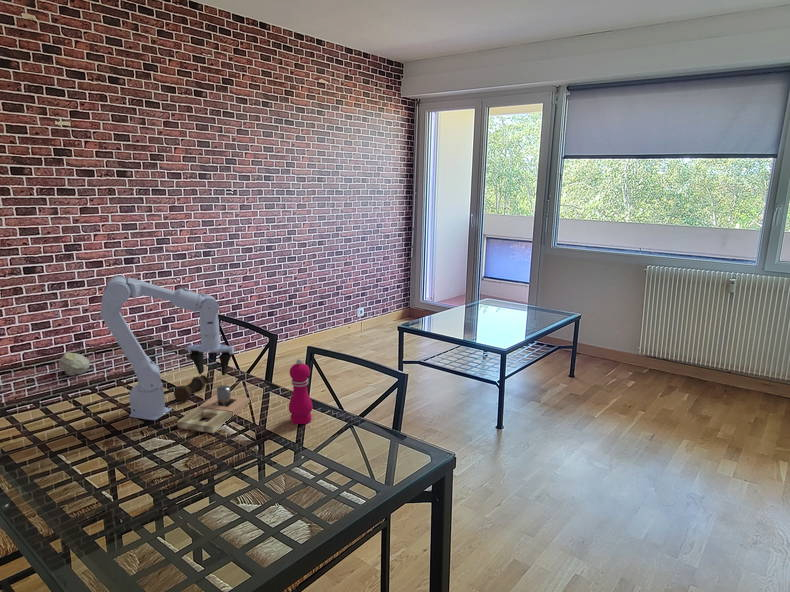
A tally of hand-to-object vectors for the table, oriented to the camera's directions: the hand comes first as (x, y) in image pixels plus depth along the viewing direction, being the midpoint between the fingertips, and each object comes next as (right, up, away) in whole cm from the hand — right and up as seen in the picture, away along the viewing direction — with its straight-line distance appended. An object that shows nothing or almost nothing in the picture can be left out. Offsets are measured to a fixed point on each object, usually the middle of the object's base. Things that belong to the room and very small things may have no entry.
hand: (212, 373), depth 167 cm
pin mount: (+2, -13, -11) cm, 17 cm away
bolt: (-10, -8, +11) cm, 17 cm away
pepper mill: (+30, -13, -8) cm, 34 cm away
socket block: (+4, -11, -1) cm, 12 cm away
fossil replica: (-60, -4, +25) cm, 65 cm away
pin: (+4, -11, -1) cm, 12 cm away
